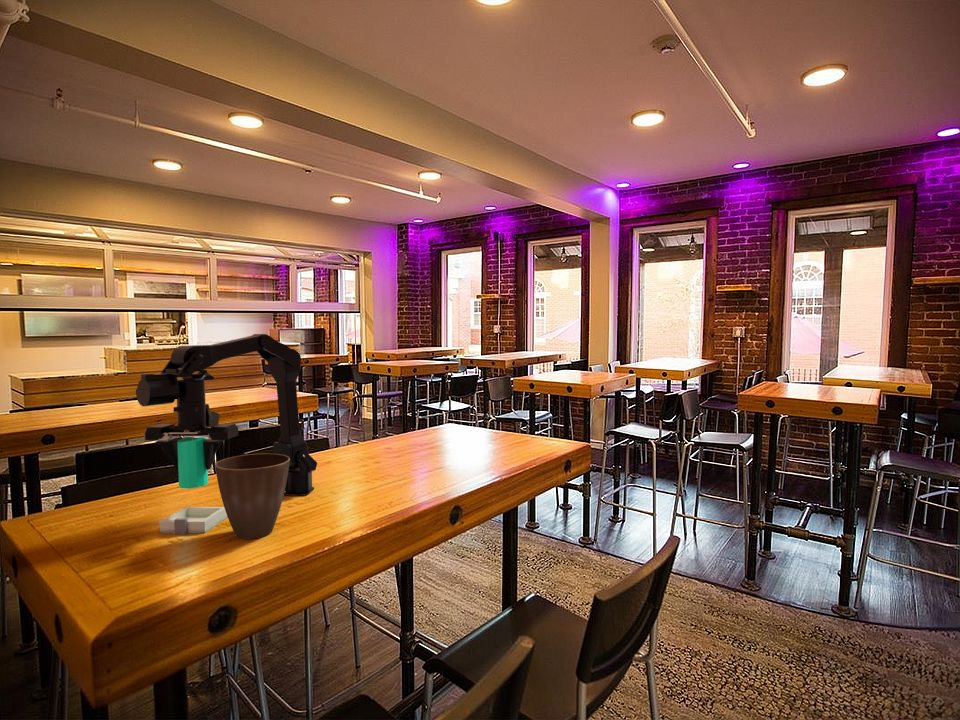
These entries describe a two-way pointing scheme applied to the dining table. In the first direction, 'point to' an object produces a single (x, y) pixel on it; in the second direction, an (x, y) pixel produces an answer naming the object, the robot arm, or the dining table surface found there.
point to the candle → (192, 463)
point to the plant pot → (252, 491)
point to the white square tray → (193, 520)
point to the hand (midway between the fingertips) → (193, 469)
